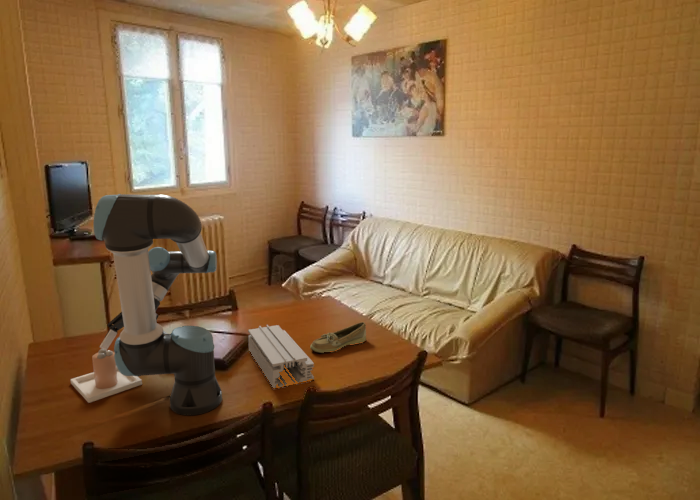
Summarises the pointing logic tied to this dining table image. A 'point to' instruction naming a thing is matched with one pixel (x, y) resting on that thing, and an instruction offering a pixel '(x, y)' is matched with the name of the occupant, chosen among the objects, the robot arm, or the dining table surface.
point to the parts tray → (91, 393)
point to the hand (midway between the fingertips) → (115, 353)
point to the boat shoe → (340, 338)
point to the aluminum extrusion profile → (279, 355)
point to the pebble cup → (104, 369)
